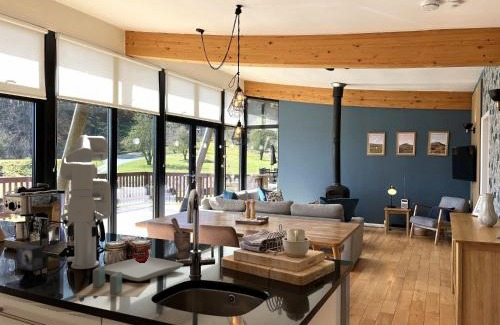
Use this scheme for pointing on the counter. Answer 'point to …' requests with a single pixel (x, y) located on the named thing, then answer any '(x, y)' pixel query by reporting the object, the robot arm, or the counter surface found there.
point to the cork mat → (126, 291)
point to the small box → (29, 257)
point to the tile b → (115, 283)
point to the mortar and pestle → (181, 241)
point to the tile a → (98, 276)
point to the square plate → (143, 268)
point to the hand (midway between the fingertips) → (82, 236)
